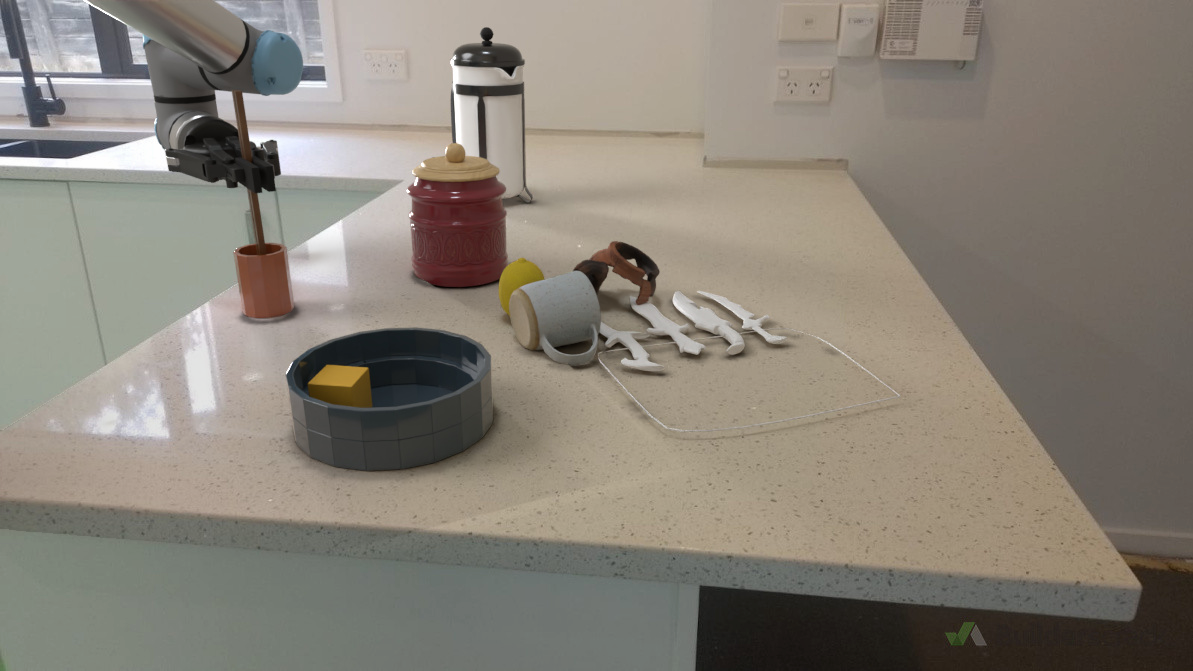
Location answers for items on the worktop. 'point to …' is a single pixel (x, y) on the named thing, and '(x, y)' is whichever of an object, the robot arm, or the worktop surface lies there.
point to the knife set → (703, 321)
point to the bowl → (395, 399)
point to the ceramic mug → (557, 315)
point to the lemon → (517, 279)
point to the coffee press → (491, 108)
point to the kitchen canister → (457, 220)
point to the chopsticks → (248, 156)
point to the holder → (264, 281)
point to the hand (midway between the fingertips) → (263, 179)
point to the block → (342, 386)
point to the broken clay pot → (622, 268)
